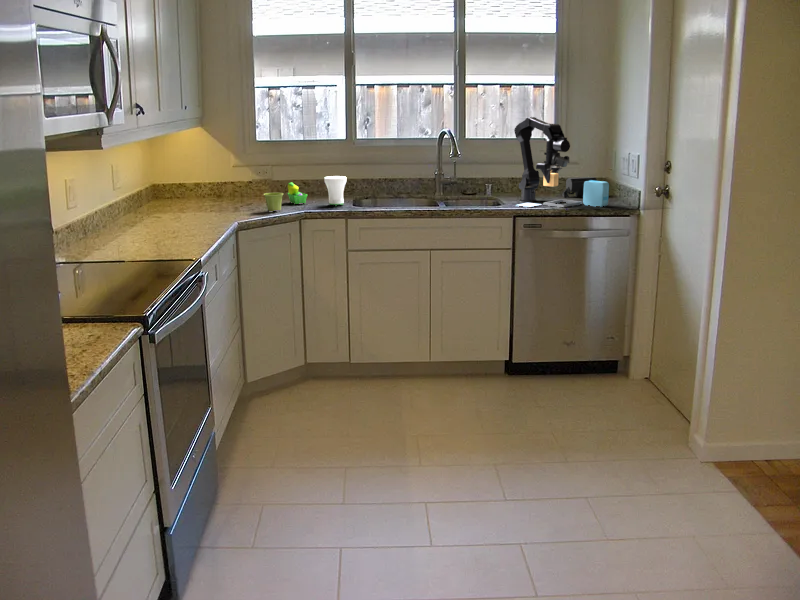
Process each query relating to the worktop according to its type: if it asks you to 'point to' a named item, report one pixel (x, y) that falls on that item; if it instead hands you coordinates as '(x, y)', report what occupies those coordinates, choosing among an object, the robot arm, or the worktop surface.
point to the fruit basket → (296, 194)
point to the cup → (335, 189)
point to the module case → (571, 202)
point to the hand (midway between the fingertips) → (550, 182)
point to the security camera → (576, 186)
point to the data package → (596, 193)
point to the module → (552, 180)
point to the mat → (528, 204)
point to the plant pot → (273, 201)
